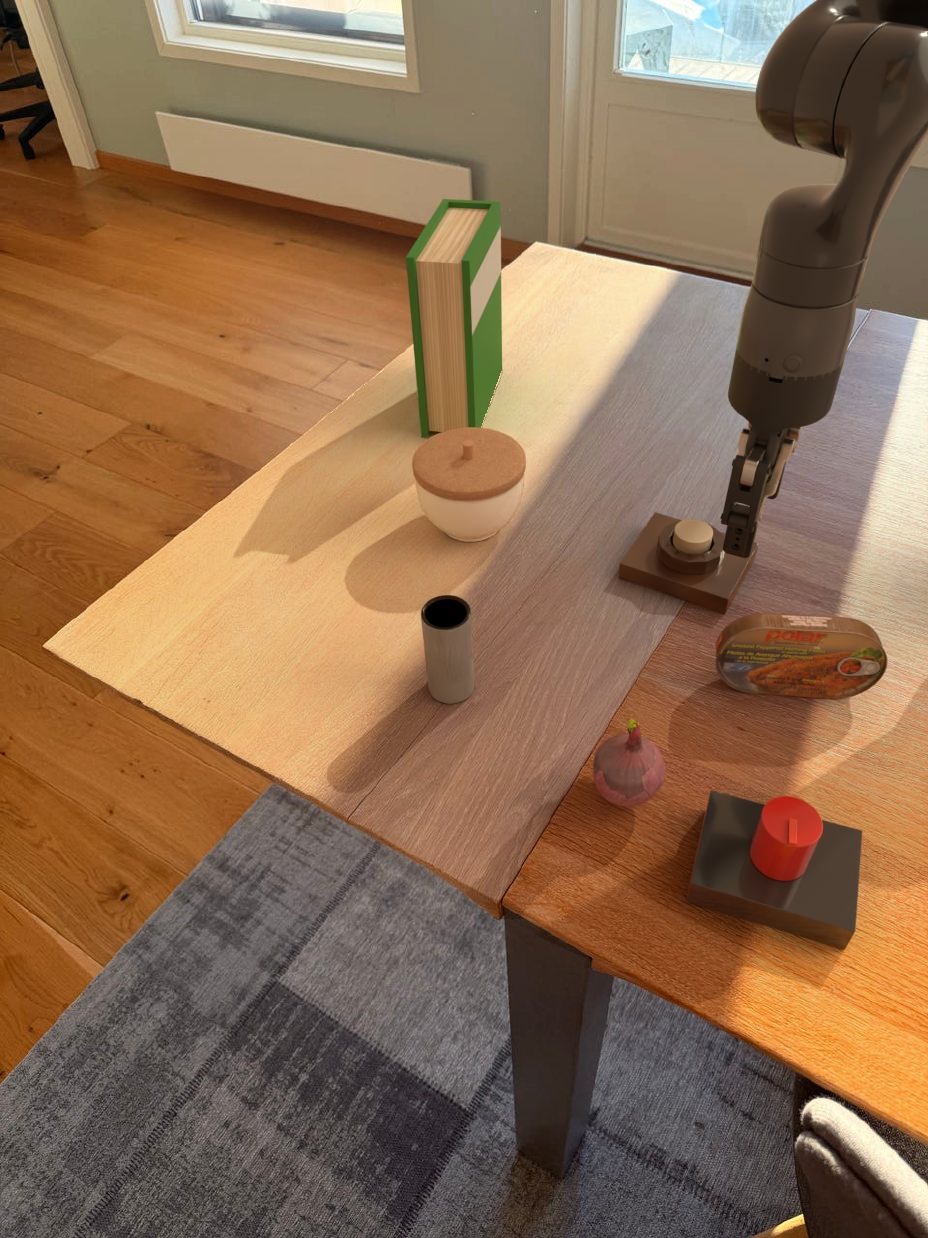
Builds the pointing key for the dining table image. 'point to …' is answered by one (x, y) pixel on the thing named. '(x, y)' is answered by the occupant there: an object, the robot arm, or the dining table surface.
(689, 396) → the dining table surface
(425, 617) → the planter
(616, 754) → the vegetable
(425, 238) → the hardback book
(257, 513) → the dining table surface
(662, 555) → the button housing
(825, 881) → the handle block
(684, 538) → the button
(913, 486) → the dining table surface
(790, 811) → the dial knob
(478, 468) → the lidded bowl
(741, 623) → the tin
